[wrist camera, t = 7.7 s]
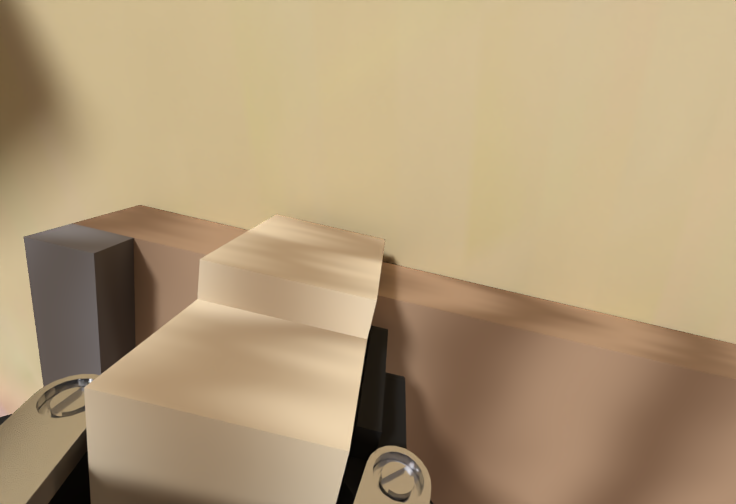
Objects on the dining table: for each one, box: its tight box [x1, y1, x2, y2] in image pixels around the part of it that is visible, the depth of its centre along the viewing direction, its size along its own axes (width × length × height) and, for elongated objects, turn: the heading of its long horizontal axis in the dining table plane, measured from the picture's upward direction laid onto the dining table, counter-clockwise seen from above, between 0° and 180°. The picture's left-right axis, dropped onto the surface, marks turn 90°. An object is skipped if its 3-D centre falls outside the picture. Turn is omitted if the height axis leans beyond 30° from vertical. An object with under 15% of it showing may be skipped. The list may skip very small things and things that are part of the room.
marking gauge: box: [84, 214, 385, 504], centre depth 10 cm, size 4×12×8 cm, turn 168°
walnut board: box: [24, 205, 736, 504], centre depth 13 cm, size 28×12×4 cm, turn 78°
